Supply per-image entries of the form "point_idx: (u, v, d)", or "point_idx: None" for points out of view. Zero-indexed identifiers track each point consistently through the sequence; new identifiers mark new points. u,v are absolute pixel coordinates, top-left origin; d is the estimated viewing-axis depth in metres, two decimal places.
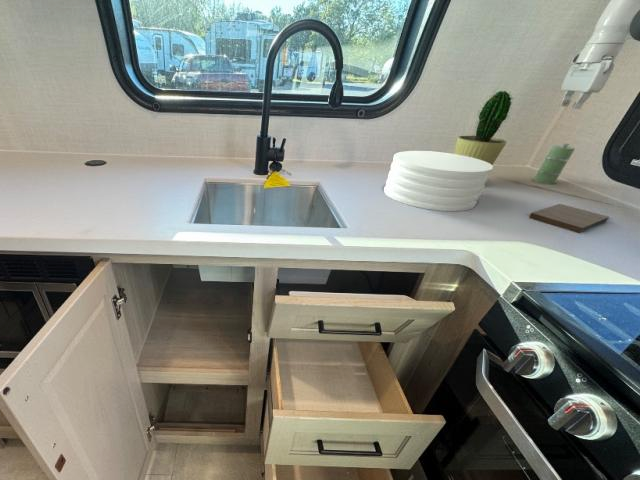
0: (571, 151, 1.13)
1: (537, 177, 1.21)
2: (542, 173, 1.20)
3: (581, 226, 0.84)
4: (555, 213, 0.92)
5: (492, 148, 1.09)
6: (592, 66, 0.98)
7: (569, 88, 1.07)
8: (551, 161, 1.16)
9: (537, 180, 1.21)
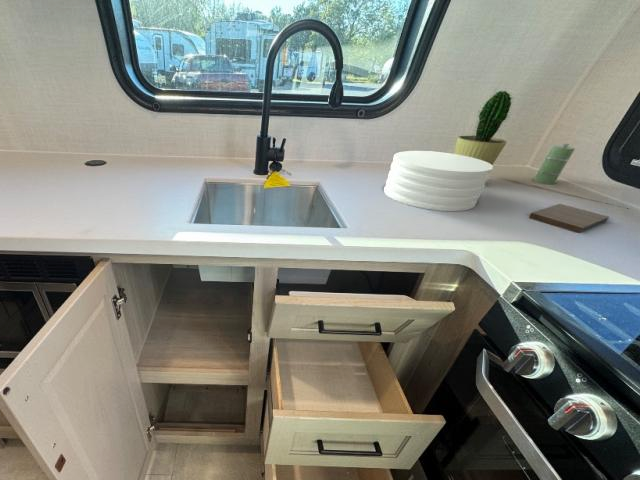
0: (571, 151, 1.13)
1: (537, 177, 1.21)
2: (542, 173, 1.20)
3: (581, 226, 0.84)
4: (555, 213, 0.92)
5: (492, 148, 1.09)
6: None
7: None
8: (551, 161, 1.16)
9: (537, 180, 1.21)
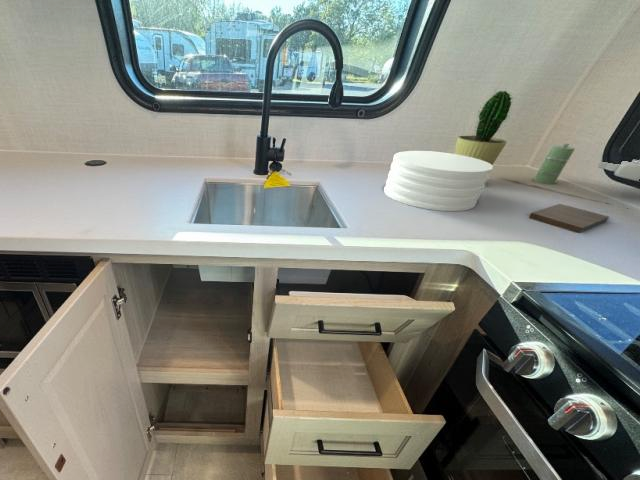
0: (571, 151, 1.13)
1: (537, 177, 1.21)
2: (542, 173, 1.20)
3: (581, 226, 0.84)
4: (555, 213, 0.92)
5: (492, 148, 1.09)
6: None
7: None
8: (551, 161, 1.16)
9: (537, 180, 1.21)
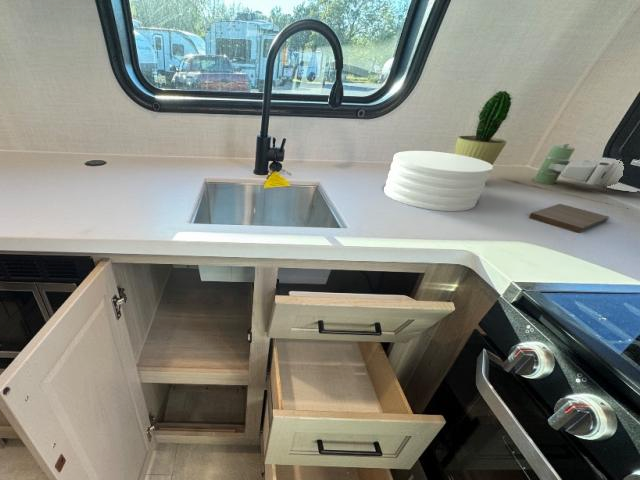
0: (571, 151, 1.13)
1: (537, 177, 1.21)
2: (542, 173, 1.19)
3: (581, 226, 0.84)
4: (555, 213, 0.92)
5: (492, 148, 1.09)
6: None
7: None
8: (551, 161, 1.16)
9: (537, 180, 1.21)
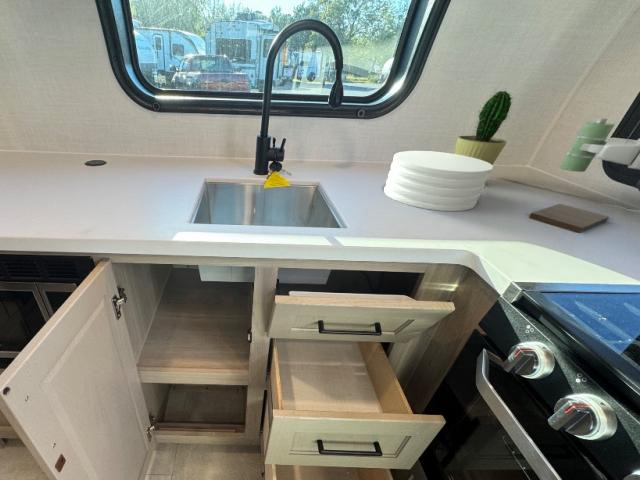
0: (610, 128, 0.91)
1: (565, 161, 1.00)
2: (572, 156, 0.98)
3: (581, 226, 0.84)
4: (555, 213, 0.92)
5: (492, 148, 1.09)
6: None
7: None
8: (584, 141, 0.95)
9: (565, 165, 1.00)
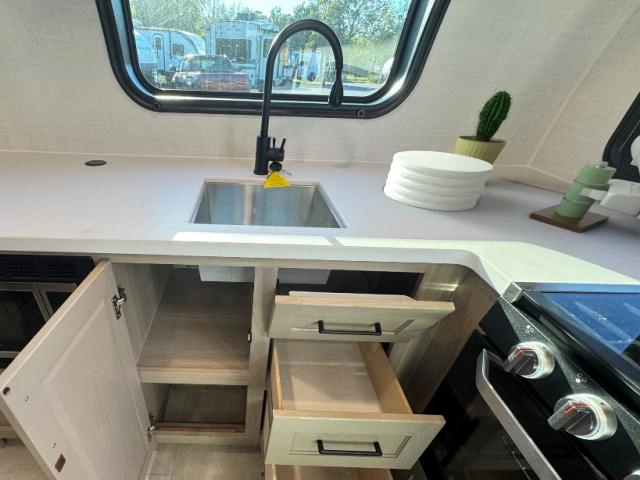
0: (611, 173, 0.82)
1: (562, 206, 0.90)
2: (569, 201, 0.88)
3: (581, 226, 0.84)
4: (555, 213, 0.92)
5: (492, 148, 1.09)
6: None
7: None
8: (583, 186, 0.85)
9: (562, 210, 0.90)
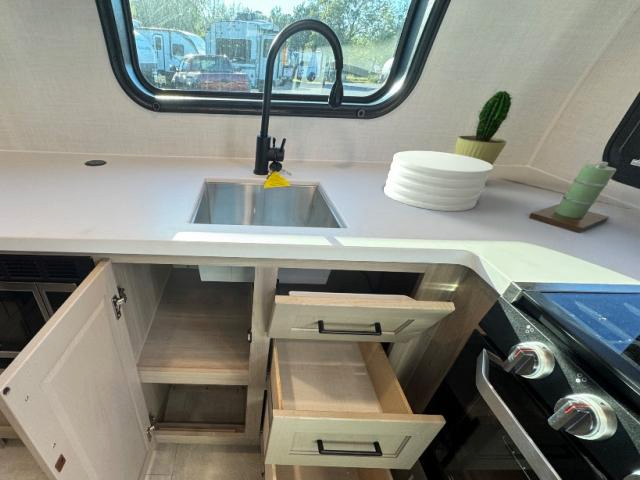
0: (611, 173, 0.82)
1: (562, 206, 0.90)
2: (569, 201, 0.88)
3: (581, 226, 0.84)
4: (555, 213, 0.92)
5: (492, 148, 1.09)
6: None
7: None
8: (583, 186, 0.85)
9: (562, 210, 0.90)
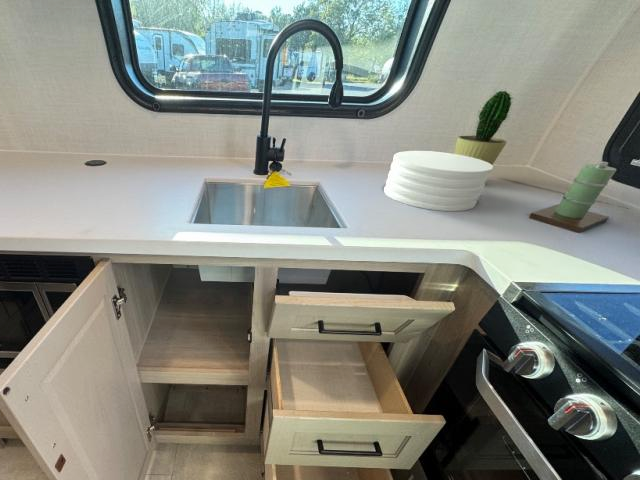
0: (611, 173, 0.82)
1: (562, 206, 0.90)
2: (569, 201, 0.88)
3: (581, 226, 0.84)
4: (555, 213, 0.92)
5: (492, 148, 1.09)
6: None
7: None
8: (583, 186, 0.85)
9: (562, 210, 0.90)
